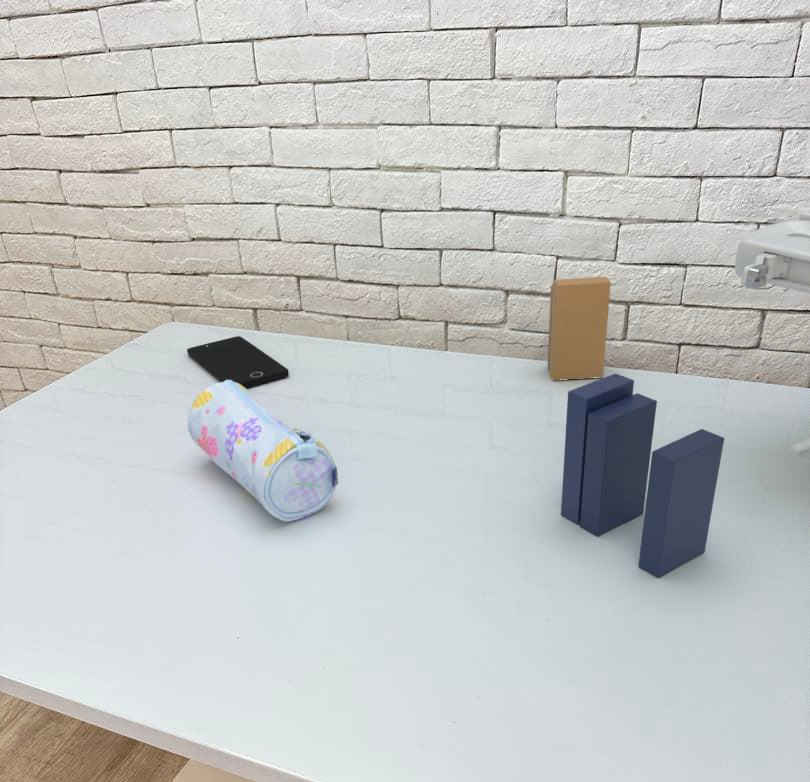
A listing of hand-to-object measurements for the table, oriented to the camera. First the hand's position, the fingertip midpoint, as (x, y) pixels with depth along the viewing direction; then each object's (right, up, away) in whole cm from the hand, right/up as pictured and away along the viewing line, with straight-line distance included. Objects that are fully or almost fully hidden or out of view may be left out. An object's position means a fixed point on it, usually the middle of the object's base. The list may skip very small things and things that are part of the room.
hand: (795, 290), depth 74 cm
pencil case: (-50, -16, +22) cm, 56 cm away
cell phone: (-59, +4, +52) cm, 78 cm away
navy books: (-14, -19, +13) cm, 27 cm away
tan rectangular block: (-11, +1, +43) cm, 44 cm away
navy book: (-9, -23, +6) cm, 26 cm away
